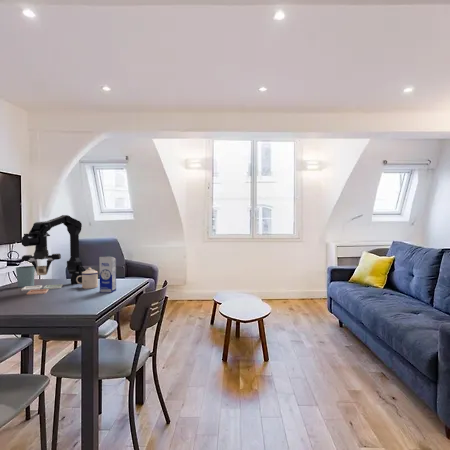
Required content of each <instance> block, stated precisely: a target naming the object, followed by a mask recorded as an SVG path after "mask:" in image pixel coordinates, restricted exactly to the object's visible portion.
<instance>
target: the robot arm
mask: <svg viewBox="0 0 450 450" xmlns="http://www.w3.org/2000/svg"><path fill="white" fill-rule="evenodd" d="M62 224H63V226H65V227H66V230H67V232H68V234H69V248H70V250H69V251H70V252H69V253H70V256H69V257H70V258H69V259H68V260H67V261H66V269H67V271H68V273H69V275H71V276H70V284H71V285H80V284H79V283H77V281H76V278H77V277H78V276H82V272H84V271H86V270H87V269H86V268H85V267H84V266H83V262H82V260H81V258H80V241H79V240H80V238H79V236H80V233H81V232H82V227H83V225H82V222H81V221H80V220H78V219H76V218H74V217H72V216H70V215H68V214H62V215H60V216H57V217H55V218H52V219H49V220H46V221H38V222H37V221H36V222H34V223H33V225H32V227H31V228H30V231H29V233H24V234H23V236H22V237H21V240H20V242H21V245H22V246H23V247H26V248H27V247H33V246H34V249H35V250H34V253H33V255H32V254H25V255H22V256H21V262H28V263H31V264H32V266H34V268H35V272H36V273H37V267H38V266H39V265H38V260H41V261H42V260H46V259H47V260H46V266H47V268H46V272H47V273H48V272H49V269H50V267H51V264H52V262H54V261H55V260H60V259H62V256H61V253H52V254H51V255H50V254H49V253H50V252H49V250H48V237H50V236H51V234H49V233H48V232H49V231H51V230H52V228H54V227H57V226H59V225H62ZM77 280H78V282H80V283H82V277H78V279H77Z"/></svg>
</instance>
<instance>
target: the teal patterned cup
mask: <svg viewBox="0 0 450 450" xmlns="http://www.w3.org/2000/svg"><path fill="white" fill-rule="evenodd" d="M15 272H16V281H17V283H16V284H17V288H24V287H25V286H35V272H36V270H35V268H34V266H33V265H24V266H16V267H15Z"/></svg>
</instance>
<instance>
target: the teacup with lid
mask: <svg viewBox="0 0 450 450" xmlns="http://www.w3.org/2000/svg"><path fill="white" fill-rule="evenodd" d="M85 270H86V271H84V272H82V276H78V277H82V283H80V282H78V280H77V279H78V277H77V278H76V281H77V283H79V284H78V285H81V287H82V289H85V290H86V289H87V290H91V289H96V288H97V287H98V285H99V282H98V280H99V279H98V278H99V276H98V273H99V272H98V271H97V270H95V269H94V268H93V269H92V267H88V268H87V269H85Z"/></svg>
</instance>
